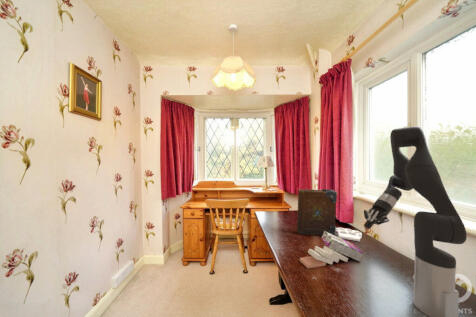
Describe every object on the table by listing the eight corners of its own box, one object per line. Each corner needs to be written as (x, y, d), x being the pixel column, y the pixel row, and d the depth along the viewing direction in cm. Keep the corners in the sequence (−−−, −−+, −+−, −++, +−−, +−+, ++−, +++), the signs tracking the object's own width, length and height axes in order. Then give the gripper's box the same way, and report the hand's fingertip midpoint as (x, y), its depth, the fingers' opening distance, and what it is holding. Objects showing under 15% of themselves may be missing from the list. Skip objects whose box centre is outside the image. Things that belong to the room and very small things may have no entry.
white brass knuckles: (333, 238, 114) (329, 230, 128) (366, 243, 108) (358, 234, 122) (333, 233, 114) (329, 225, 128) (366, 238, 108) (358, 229, 122)
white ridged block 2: (339, 258, 86) (324, 251, 83) (337, 262, 85) (322, 255, 83) (330, 252, 91) (315, 245, 89) (328, 256, 91) (314, 249, 89)
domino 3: (348, 258, 87) (333, 251, 85) (346, 262, 86) (331, 255, 84) (338, 252, 93) (324, 245, 90) (337, 255, 92) (322, 249, 90)
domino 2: (333, 260, 85) (317, 254, 82) (331, 264, 84) (316, 259, 82) (324, 254, 90) (309, 248, 88) (322, 257, 90) (307, 252, 88)
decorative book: (330, 232, 122) (331, 189, 122) (335, 237, 115) (337, 191, 115) (296, 230, 124) (297, 188, 123) (298, 235, 116) (300, 189, 116)
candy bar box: (349, 251, 98) (320, 238, 100) (353, 243, 97) (324, 230, 100) (360, 263, 87) (327, 247, 89) (364, 253, 86) (331, 238, 89)
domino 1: (325, 262, 83) (307, 265, 81) (325, 266, 84) (307, 269, 81) (316, 255, 89) (299, 257, 87) (316, 259, 89) (299, 262, 87)
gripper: (369, 196, 102) (351, 218, 99) (394, 202, 89) (375, 228, 86) (376, 205, 103) (358, 227, 100) (402, 212, 90) (382, 237, 87)
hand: (366, 227), depth 93 cm, fingers closed
